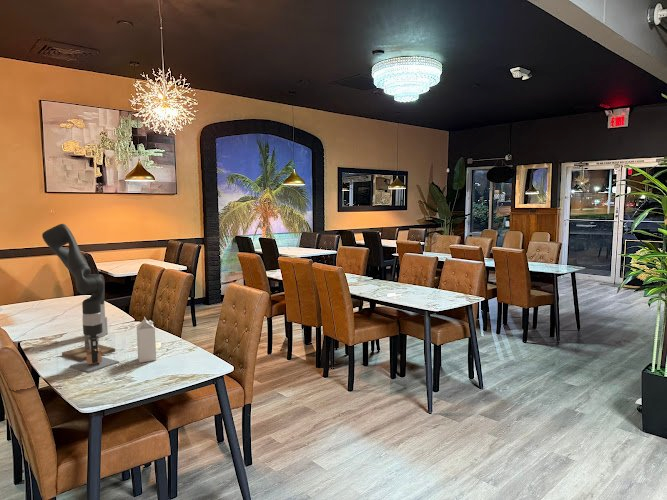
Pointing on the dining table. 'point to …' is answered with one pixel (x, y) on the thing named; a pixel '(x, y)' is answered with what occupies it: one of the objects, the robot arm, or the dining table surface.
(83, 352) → the brown board
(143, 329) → the milk carton
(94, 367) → the mat
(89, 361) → the tan cube with tab
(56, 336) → the dining table surface
